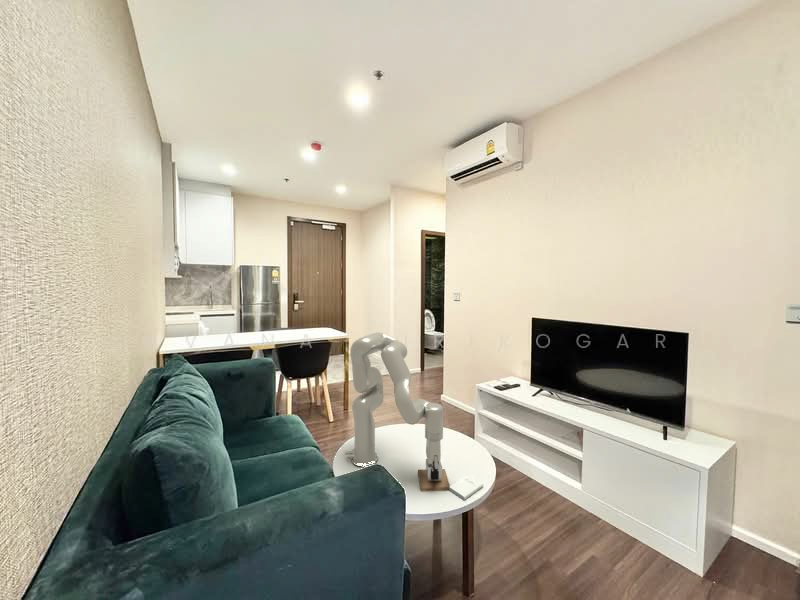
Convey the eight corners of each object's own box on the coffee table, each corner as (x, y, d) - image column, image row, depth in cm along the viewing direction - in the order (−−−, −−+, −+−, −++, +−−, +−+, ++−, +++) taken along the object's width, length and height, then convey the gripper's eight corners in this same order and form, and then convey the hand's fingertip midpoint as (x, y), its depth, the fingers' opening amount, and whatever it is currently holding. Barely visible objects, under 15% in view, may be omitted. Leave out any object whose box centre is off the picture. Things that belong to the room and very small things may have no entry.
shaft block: (420, 491, 132) (421, 476, 131) (417, 472, 144) (417, 458, 143) (450, 490, 133) (450, 475, 132) (444, 472, 145) (444, 458, 144)
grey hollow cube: (427, 480, 135) (427, 467, 134) (425, 472, 141) (425, 458, 140) (441, 480, 135) (442, 466, 135) (439, 471, 141) (439, 458, 141)
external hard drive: (448, 490, 133) (467, 477, 141) (464, 501, 127) (483, 487, 135) (448, 486, 133) (467, 473, 141) (464, 497, 127) (483, 483, 135)
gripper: (422, 424, 145) (422, 462, 146) (427, 444, 128) (427, 488, 129) (439, 423, 145) (438, 461, 147) (446, 444, 128) (446, 487, 130)
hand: (433, 473), depth 138 cm, fingers closed on grey hollow cube, 6 cm apart
